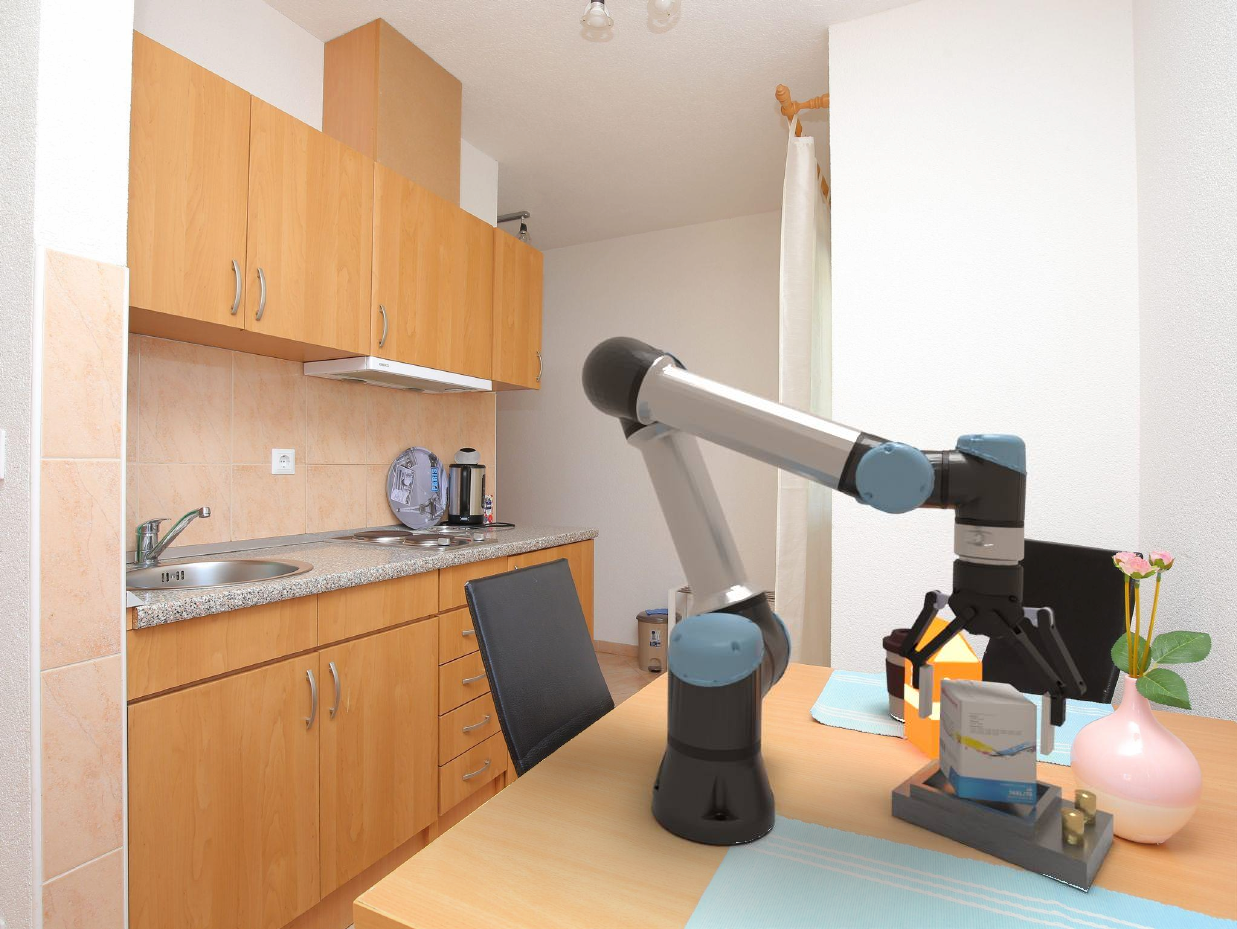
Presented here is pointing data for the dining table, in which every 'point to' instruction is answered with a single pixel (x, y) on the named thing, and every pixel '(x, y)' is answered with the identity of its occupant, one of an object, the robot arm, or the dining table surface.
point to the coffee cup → (895, 671)
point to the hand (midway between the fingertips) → (982, 732)
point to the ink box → (988, 741)
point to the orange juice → (937, 686)
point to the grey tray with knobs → (1013, 825)
